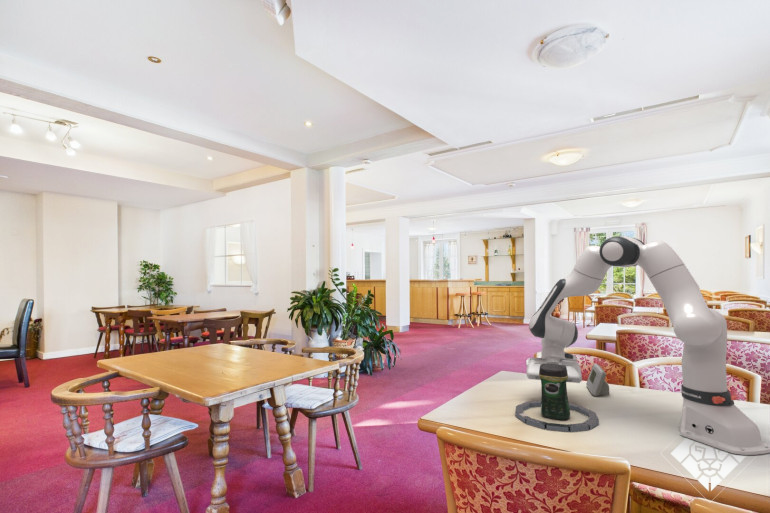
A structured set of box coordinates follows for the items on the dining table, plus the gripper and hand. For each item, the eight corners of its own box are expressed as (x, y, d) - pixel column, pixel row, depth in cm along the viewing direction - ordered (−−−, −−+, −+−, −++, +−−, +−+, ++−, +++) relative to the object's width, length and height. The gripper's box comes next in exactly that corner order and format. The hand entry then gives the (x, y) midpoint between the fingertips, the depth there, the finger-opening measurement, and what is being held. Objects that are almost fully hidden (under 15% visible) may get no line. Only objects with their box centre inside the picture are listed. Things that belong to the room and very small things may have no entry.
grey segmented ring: (616, 427, 132) (616, 422, 132) (541, 435, 127) (541, 429, 127) (566, 402, 158) (566, 397, 158) (502, 407, 154) (502, 403, 154)
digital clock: (586, 386, 180) (585, 362, 180) (609, 388, 175) (608, 364, 176) (584, 396, 166) (583, 370, 166) (609, 399, 161) (608, 372, 162)
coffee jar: (571, 415, 144) (569, 363, 145) (568, 422, 137) (565, 367, 138) (543, 410, 149) (541, 360, 150) (538, 417, 143) (536, 364, 144)
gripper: (525, 352, 165) (524, 383, 155) (580, 356, 157) (583, 387, 147) (526, 361, 169) (525, 391, 159) (580, 364, 161) (582, 396, 151)
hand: (553, 389), depth 153 cm, fingers closed
